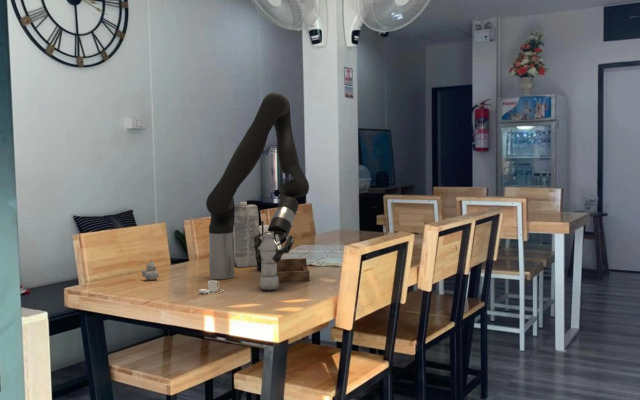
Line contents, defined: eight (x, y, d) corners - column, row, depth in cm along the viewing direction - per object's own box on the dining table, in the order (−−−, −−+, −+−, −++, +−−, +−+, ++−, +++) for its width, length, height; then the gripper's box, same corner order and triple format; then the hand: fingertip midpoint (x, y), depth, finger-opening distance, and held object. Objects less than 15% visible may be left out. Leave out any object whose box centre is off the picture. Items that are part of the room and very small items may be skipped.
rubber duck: (155, 281, 238) (154, 260, 237) (138, 281, 239) (138, 260, 239) (161, 278, 243) (160, 258, 243) (145, 278, 244) (144, 257, 244)
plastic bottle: (269, 287, 224) (267, 230, 223) (283, 289, 220) (282, 231, 218) (255, 290, 219) (254, 232, 218) (270, 292, 215) (268, 233, 213)
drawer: (271, 282, 232) (270, 264, 232) (269, 276, 244) (269, 259, 244) (309, 281, 234) (309, 263, 233) (306, 275, 246) (306, 258, 246)
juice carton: (261, 266, 268) (259, 201, 266) (236, 268, 264) (235, 203, 262) (255, 263, 276) (253, 200, 274) (231, 264, 272) (229, 201, 270)
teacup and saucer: (199, 296, 213) (199, 284, 213) (197, 291, 221) (196, 280, 220) (225, 294, 215) (225, 282, 215) (222, 289, 223) (222, 278, 223)
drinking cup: (270, 272, 254) (269, 222, 252) (251, 271, 255) (250, 221, 254) (275, 268, 261) (274, 220, 260) (257, 268, 263) (256, 220, 261)
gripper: (260, 215, 227) (244, 253, 217) (296, 216, 222) (281, 255, 212) (267, 228, 233) (252, 266, 223) (303, 230, 227) (289, 268, 217)
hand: (266, 260), depth 217 cm, fingers open, 6 cm apart
